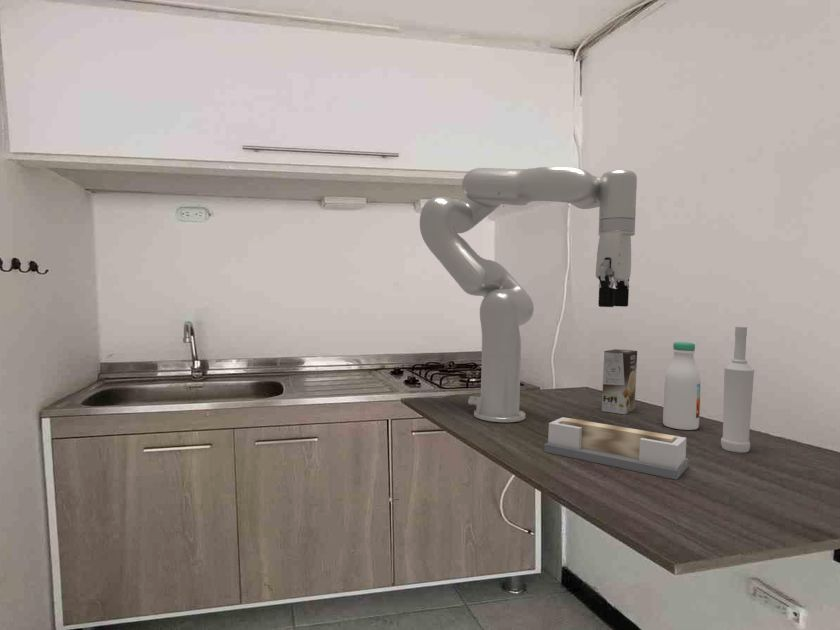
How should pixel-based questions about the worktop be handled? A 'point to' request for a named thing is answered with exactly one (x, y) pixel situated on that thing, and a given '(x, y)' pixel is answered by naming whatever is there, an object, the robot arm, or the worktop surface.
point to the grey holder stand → (651, 459)
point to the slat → (614, 437)
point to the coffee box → (619, 381)
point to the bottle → (737, 398)
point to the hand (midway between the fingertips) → (613, 306)
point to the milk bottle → (682, 389)
